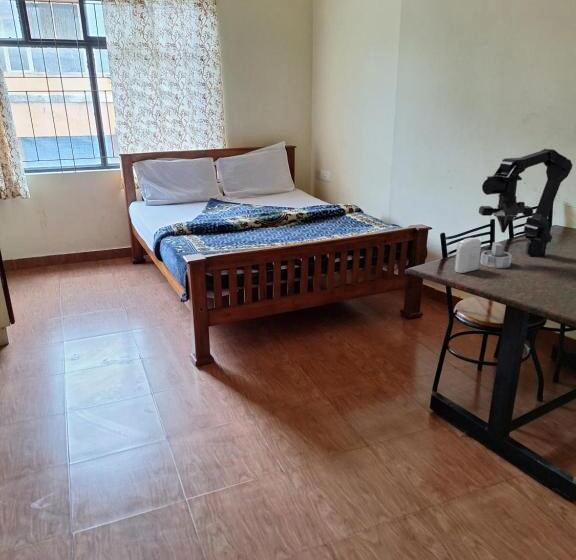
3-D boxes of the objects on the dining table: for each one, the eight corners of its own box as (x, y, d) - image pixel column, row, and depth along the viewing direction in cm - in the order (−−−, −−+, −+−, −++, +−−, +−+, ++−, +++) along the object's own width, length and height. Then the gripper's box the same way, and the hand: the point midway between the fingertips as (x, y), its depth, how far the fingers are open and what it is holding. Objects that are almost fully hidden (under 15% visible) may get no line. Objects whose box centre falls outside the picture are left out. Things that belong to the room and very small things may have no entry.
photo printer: (470, 266, 192) (473, 235, 188) (479, 269, 188) (483, 237, 184) (452, 271, 186) (455, 238, 183) (461, 274, 183) (465, 241, 179)
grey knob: (502, 256, 198) (504, 241, 196) (507, 261, 191) (510, 246, 189) (484, 256, 198) (486, 241, 197) (488, 261, 192) (490, 245, 190)
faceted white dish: (505, 260, 200) (506, 250, 199) (513, 268, 190) (514, 258, 189) (477, 259, 201) (478, 249, 200) (484, 267, 191) (485, 257, 190)
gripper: (488, 196, 185) (483, 237, 190) (541, 196, 183) (535, 237, 188) (480, 191, 196) (476, 230, 201) (530, 191, 194) (525, 230, 199)
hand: (502, 232), depth 197 cm, fingers closed
